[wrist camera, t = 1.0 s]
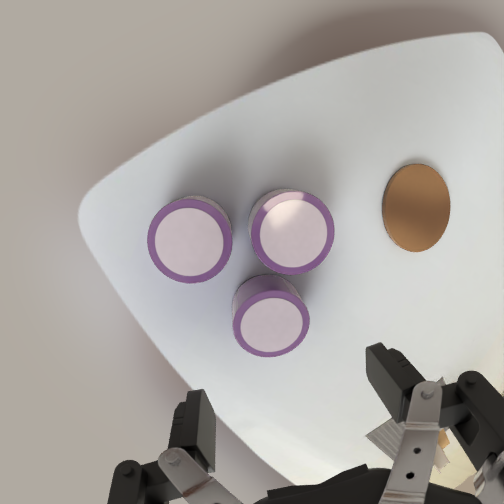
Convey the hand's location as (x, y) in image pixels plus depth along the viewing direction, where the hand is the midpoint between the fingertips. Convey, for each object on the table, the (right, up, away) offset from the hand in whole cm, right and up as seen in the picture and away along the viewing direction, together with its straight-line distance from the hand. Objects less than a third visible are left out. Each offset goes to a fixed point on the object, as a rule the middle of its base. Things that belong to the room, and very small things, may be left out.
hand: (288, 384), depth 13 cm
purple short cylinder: (-1, +2, +8) cm, 9 cm away
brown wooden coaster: (+11, +10, +7) cm, 17 cm away
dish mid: (0, +8, +7) cm, 11 cm away
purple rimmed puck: (-6, +8, +7) cm, 11 cm away
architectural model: (+21, -17, +15) cm, 31 cm away
